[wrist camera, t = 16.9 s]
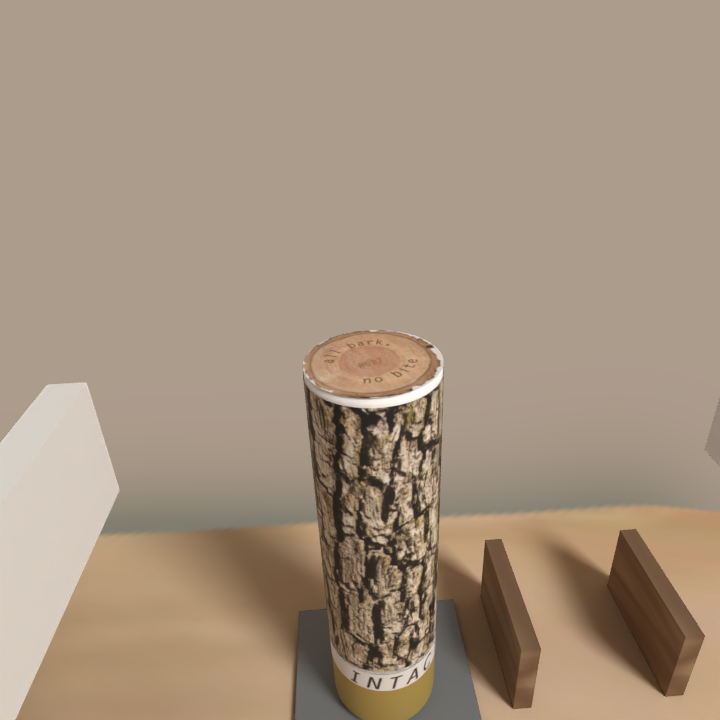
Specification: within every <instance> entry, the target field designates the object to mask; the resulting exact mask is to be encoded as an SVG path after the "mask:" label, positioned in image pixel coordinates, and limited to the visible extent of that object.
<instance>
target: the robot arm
mask: <svg viewBox="0 0 720 720" xmlns="http://www.w3.org/2000/svg"><path fill="white" fill-rule="evenodd" d="M704 450H705V451H706V452H707V453H708V454H709V455H710V456H711V457H712V458H713V459H714V461H715V462H716V463H717V464H718V465H719V466H720V399H719V402H718V406H717V409H716V412H715V416H714V419H713V422H712V426H711V429H710V432H709V436H708V439H707V442H706V446H705V449H704ZM119 490H120V489H119V486H118V483H117V480H116V477H115V473H114V470H113V467H112V463H111V460H110V457H109V454H108V451H107V447H106V444H105V441H104V437H103V434H102V431H101V428H100V424H99V421H98V418H97V415H96V411H95V408H94V405H93V402H92V398H91V396H90V392H89V389H88V386H87V383H86V382H84V383H67V384H51V385H47V386H46V387H45V388H44V389H43V391H42V392H41V393H40V395H39V396H38V397H37V398H36V399H35V401H34V402H33V403H32V404H31V405H30V407H29V408H28V409H27V411H26V412H25V413H24V414H23V415H22V417H21V418H20V419H19V420H18V422H17V423H16V424H15V425H14V427H13V428H12V429H11V430H10V432H9V433H8V434H7V435H6V437H5V438H4V439H3V440H2V442H1V443H0V720H16V717H17V715H18V713H19V711H20V709H21V706H22V704H23V702H24V700H25V698H26V695H27V693H28V691H29V689H30V687H31V684H32V682H33V680H34V678H35V676H36V673H37V671H38V669H39V667H40V665H41V662H42V660H43V658H44V656H45V653H46V651H47V649H48V647H49V645H50V642H51V640H52V638H53V636H54V634H55V631H56V629H57V627H58V625H59V623H60V620H61V618H62V616H63V614H64V612H65V609H66V607H67V605H68V603H69V601H70V598H71V596H72V594H73V592H74V590H75V587H76V585H77V583H78V581H79V579H80V576H81V574H82V572H83V570H84V568H85V565H86V563H87V561H88V559H89V557H90V554H91V552H92V550H93V548H94V545H95V543H96V541H97V539H98V537H99V534H100V532H101V530H102V528H103V525H104V523H105V521H106V519H107V517H108V515H109V512H110V510H111V508H112V506H113V503H114V501H115V499H116V497H117V495H118V492H119Z"/></svg>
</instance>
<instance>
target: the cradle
mask: <svg viewBox="0 0 720 720" xmlns="http://www.w3.org/2000/svg"><path fill="white" fill-rule="evenodd" d="M607 586H608V588H609V590H610V592H611V594H612V596H613V598H614V600H615V602H616V603H617V605H618V607H619V609H620V611H621V613H622V615H623V617H624V619H625V621H626V622H627V624H628V626H629V628H630V630H631V632H632V634H633V636H634V638H635V640H636V641H637V643H638V645H639V647H640V649H641V651H642V653H643V655H644V657H645V659H646V661H647V662H648V664H649V666H650V668H651V670H652V672H653V674H654V676H655V678H656V680H657V681H658V683H659V685H660V687H661V689H662V691H663V693H664V695H665V696H677V695H683V694H684V691H685V689H686V686H687V683H688V681H689V678H690V675H691V672H692V670H693V667H694V664H695V662H696V659H697V656H698V653H699V651H700V648H701V645H702V643H703V640H704V637H705V635H704V634H703V632H702V631H701V629H700V628H699V626H698V625H697V623H696V621H695V620H694V618H693V617H692V615H691V614H690V612H689V611H688V609H687V607H686V606H685V604H684V603H683V601H682V600H681V598H680V597H679V595H678V594H677V592H676V590H675V589H674V587H673V586H672V584H671V583H670V581H669V580H668V578H667V577H666V575H665V573H664V572H663V570H662V569H661V567H660V566H659V564H658V563H657V561H656V559H655V558H654V556H653V555H652V553H651V552H650V550H649V549H648V547H647V546H646V544H645V542H644V541H643V539H642V538H641V536H640V535H639V533H638V532H637V530H636V529H632V530H620V533H619V538H618V542H617V546H616V550H615V555H614V559H613V563H612V568H611V572H610V576H609V581H608V585H607ZM481 599H482V602H483V606H484V609H485V613H486V616H487V620H488V623H489V627H490V630H491V634H492V637H493V641H494V644H495V647H496V651H497V654H498V658H499V661H500V665H501V668H502V672H503V675H504V679H505V682H506V686H507V689H508V693H509V696H510V700H511V703H512V707H513V709H518V708H531V705H532V699H533V693H534V687H535V681H536V676H537V670H538V664H539V658H540V652H541V648H540V645H539V642H538V639H537V637H536V634H535V631H534V628H533V626H532V623H531V620H530V617H529V615H528V612H527V609H526V606H525V604H524V601H523V598H522V595H521V592H520V590H519V587H518V584H517V581H516V579H515V576H514V573H513V570H512V568H511V565H510V562H509V559H508V556H507V554H506V551H505V548H504V545H503V543H502V540H501V539H495V540H485V549H484V561H483V573H482V584H481Z"/></svg>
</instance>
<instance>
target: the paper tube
mask: <svg viewBox="0 0 720 720" xmlns="http://www.w3.org/2000/svg"><path fill="white" fill-rule="evenodd" d="M443 375H444V369H443V357H442V354H441V353H440V351H439V350H438V349H437V348H436V347H435V346H434V345H433V344H431V343H430V342H428V341H426V340H424V339H422V338H420V337H417V336H414V335H411V334H407V333H403V332H397V331H386V330H368V331H357V332H351V333H346V334H342V335H339V336H336V337H333V338H330V339H328V340H325V341H323V342H322V343H320V344H318V345H317V346H315V347H314V348H313V349H312V350H310V352H309V353H308V354H307V355H306V357H305V359H304V362H303V380H304V389H305V400H306V410H307V419H308V429H309V439H310V448H311V458H312V468H313V478H314V487H315V497H316V506H317V516H318V526H319V536H320V545H321V555H322V565H323V575H324V584H325V594H326V604H327V613H328V623H329V633H330V643H331V651H332V658H333V668H334V678H335V685H336V689H337V692H338V694H339V697H340V698H341V700H342V702H343V703H344V705H345V706H346V707H347V709H348V710H350V711H351V712H352V713H353V714H354V715H355V716H357V717H359V718H360V719H362V720H407V719H409V718H411V717H413V716H414V715H415V714H417V713H418V712H419V711H420V710H421V709H422V708H423V706H424V705H425V704H426V702H427V701H428V699H429V697H430V694H431V691H432V688H433V683H434V661H435V641H436V608H437V575H438V542H439V508H440V476H441V443H442V410H443V408H442V407H443V378H444V377H443Z"/></svg>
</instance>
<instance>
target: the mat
mask: <svg viewBox="0 0 720 720" xmlns="http://www.w3.org/2000/svg"><path fill="white" fill-rule="evenodd" d="M295 720H362V719H360V718H359V717H357V716H355V715H354V714H353V713H352V712H351V711H350V710H348V709H347V707H346V706H345V705H344V703H343V702H342V700H341V698H340V697H339V694H338V692H337V689H336V685H335V678H334V668H333V658H332V651H331V643H330V633H329V623H328V613H327V609H321V610H308V611H299V633H298V658H297V683H296V708H295ZM407 720H481V715H480V711H479V707H478V703H477V698H476V694H475V690H474V686H473V681H472V677H471V673H470V669H469V664H468V660H467V656H466V652H465V647H464V643H463V639H462V635H461V631H460V626H459V622H458V618H457V614H456V609H455V605H454V601H453V600H440V601H437V608H436V641H435V661H434V683H433V688H432V691H431V694H430V697H429V699H428V701H427V702H426V704H425V705H424V706H423V708H422V709H421V710H420V711H419V712H418V713H417V714H415V715H414V716H413V717H411V718H409V719H407Z"/></svg>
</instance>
